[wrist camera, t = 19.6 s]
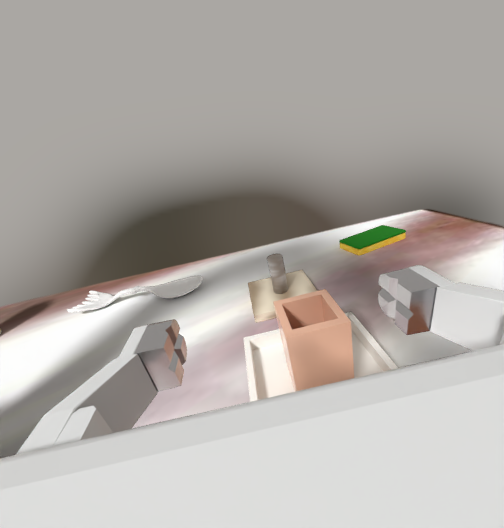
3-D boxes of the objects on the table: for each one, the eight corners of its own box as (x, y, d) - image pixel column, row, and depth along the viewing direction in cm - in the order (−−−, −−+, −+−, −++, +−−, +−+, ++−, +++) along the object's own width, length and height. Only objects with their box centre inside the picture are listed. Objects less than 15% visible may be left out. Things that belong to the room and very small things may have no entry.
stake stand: (255, 322, 41) (244, 279, 38) (249, 288, 52) (240, 253, 49) (323, 306, 41) (318, 261, 38) (303, 275, 52) (297, 239, 49)
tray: (262, 481, 21) (256, 466, 20) (247, 350, 36) (243, 337, 35) (439, 438, 21) (442, 420, 20) (351, 325, 36) (351, 311, 35)
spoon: (95, 300, 65) (89, 289, 64) (208, 279, 62) (204, 267, 60) (71, 321, 57) (64, 309, 56) (200, 298, 54) (195, 285, 52)
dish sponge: (406, 239, 58) (406, 229, 57) (359, 257, 55) (359, 247, 54) (382, 233, 65) (382, 224, 64) (339, 249, 62) (338, 240, 61)
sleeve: (300, 410, 26) (285, 337, 21) (287, 366, 31) (273, 301, 27) (355, 396, 26) (350, 321, 22) (332, 354, 31) (325, 288, 27)
